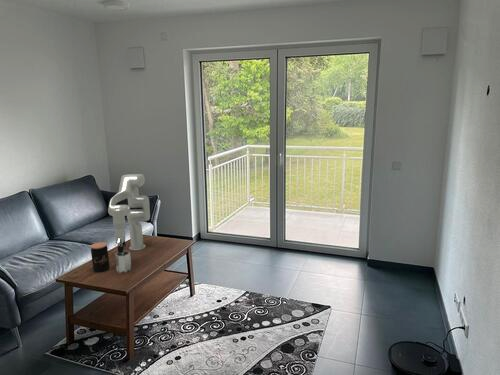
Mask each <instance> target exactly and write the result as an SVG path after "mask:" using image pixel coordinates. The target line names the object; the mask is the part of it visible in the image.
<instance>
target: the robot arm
mask: <svg viewBox="0 0 500 375" xmlns="http://www.w3.org/2000/svg"><path fill="white" fill-rule="evenodd" d="M145 182H146V178H145V175H144V174H143V173H130V174H123V175H121V177H120V182H119V186H118V187H119V188H118V192H117V193H116V194H115V195H114V196H112V197H111V198H110V200H109V203H108V208H107V212H108V214H109V216H112V222H113V229H114V230H115V231H114V237H115V244H116V245H117V252H118V253H121V252H123V251H124V250H123V246H122V244H125V248H126V245H127V244H126V230H125V228H126V218H127V223H128V227H129V228H128V229H129V237H130V238H129V240H130V246H129V247H128V249H129V251H141V250H143V249H145V248H146V244H145V243H144V237H143V236H144V235H143V226H142V224H141V222H147V221H149V220H150V218H151V211H150V210H151V209H150V199H149V197H148V195H146V194H145V195H144V194H143V195H140V194H139V188H138V187H142V186H143V185H144V184H145ZM126 199H127V204H118V203H119V202H121V201H124V200H126ZM131 208H132V209H131ZM137 208H139V209H137Z"/></svg>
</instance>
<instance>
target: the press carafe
mask: <svg viewBox="0 0 500 375" xmlns="http://www.w3.org/2000/svg"><path fill="white" fill-rule="evenodd" d="M123 255H124V256H122V252H121V253H118V251H117V252H115V254H114V258H115V266H116V268H115V269H116V272H117V273H121V274H123V273H127V272H130V271H131V270H132V261H131V252H130V250H129V251H128V250H123Z"/></svg>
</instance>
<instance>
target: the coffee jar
mask: <svg viewBox="0 0 500 375" xmlns="http://www.w3.org/2000/svg"><path fill="white" fill-rule="evenodd" d="M90 254H91V262H92V269H93V271H94V272H96V273H103V272H106V271H108V270H109V269H110V259H109V258H110V257H109V251H108V243H107V242H103V241H102V242H94V243H93V244H91V245H90Z"/></svg>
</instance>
